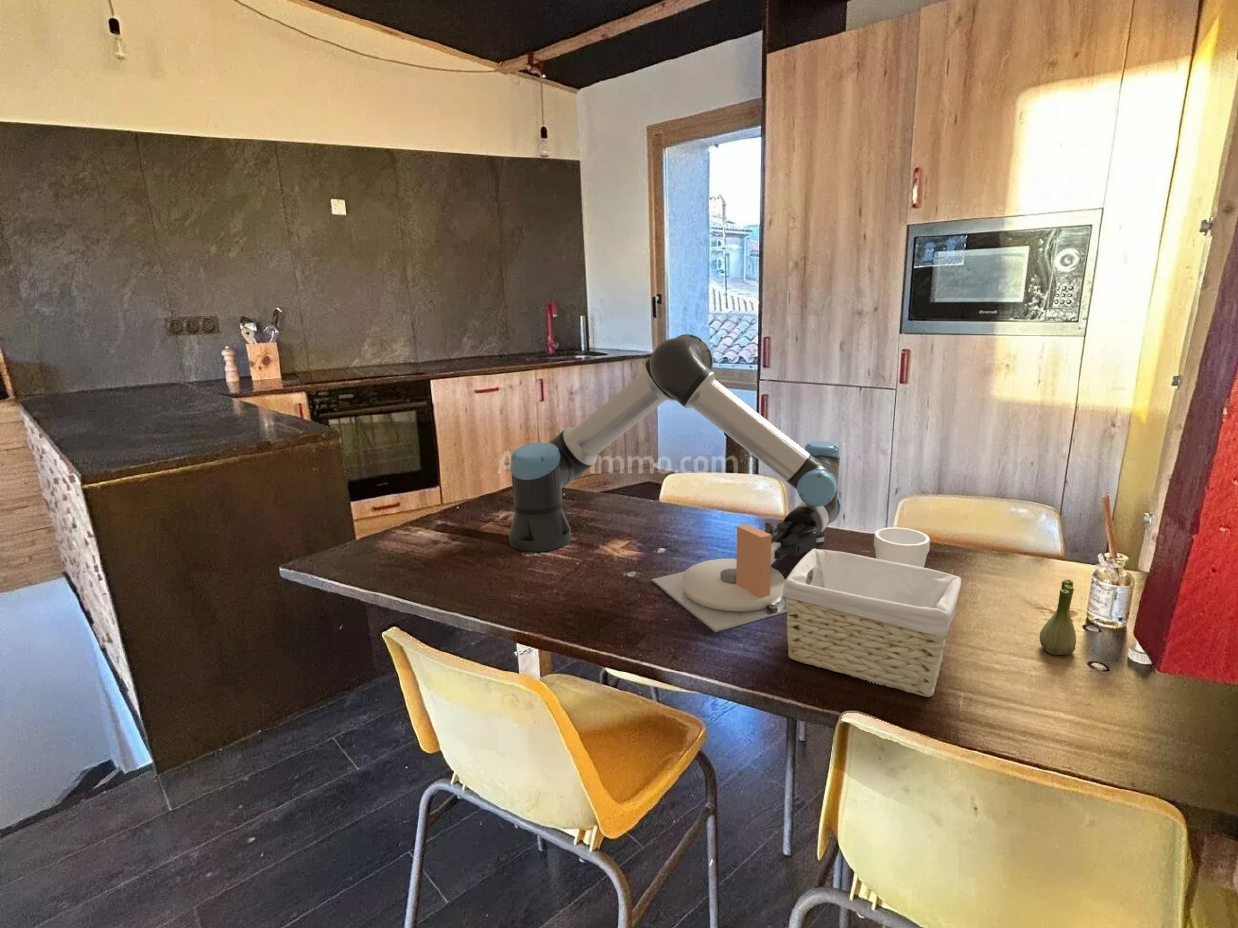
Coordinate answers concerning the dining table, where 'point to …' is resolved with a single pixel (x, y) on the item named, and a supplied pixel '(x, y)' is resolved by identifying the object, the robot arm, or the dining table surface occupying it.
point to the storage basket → (870, 618)
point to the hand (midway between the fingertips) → (764, 560)
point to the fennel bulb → (1060, 625)
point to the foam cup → (901, 546)
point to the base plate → (714, 616)
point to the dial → (737, 576)
